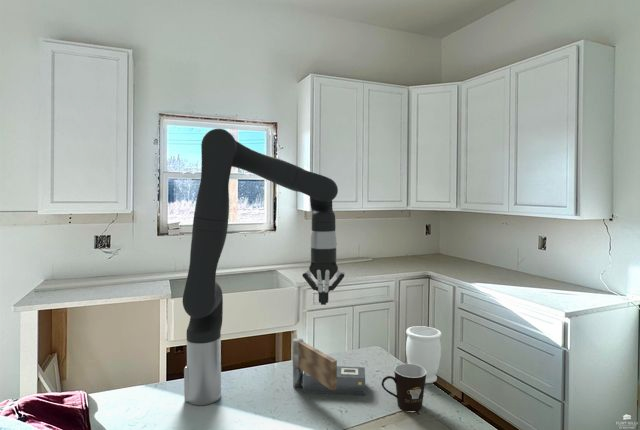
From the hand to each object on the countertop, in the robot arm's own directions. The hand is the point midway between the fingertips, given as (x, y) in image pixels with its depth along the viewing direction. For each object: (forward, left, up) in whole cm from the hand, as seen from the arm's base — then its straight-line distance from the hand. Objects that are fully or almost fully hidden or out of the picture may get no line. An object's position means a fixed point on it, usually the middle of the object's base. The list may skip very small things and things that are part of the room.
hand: (323, 304), depth 116 cm
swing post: (-8, 0, -25) cm, 26 cm away
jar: (+31, +9, -25) cm, 41 cm away
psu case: (+3, 0, -25) cm, 25 cm away
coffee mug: (+23, -8, -25) cm, 35 cm away
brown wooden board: (-2, -6, -19) cm, 20 cm away
